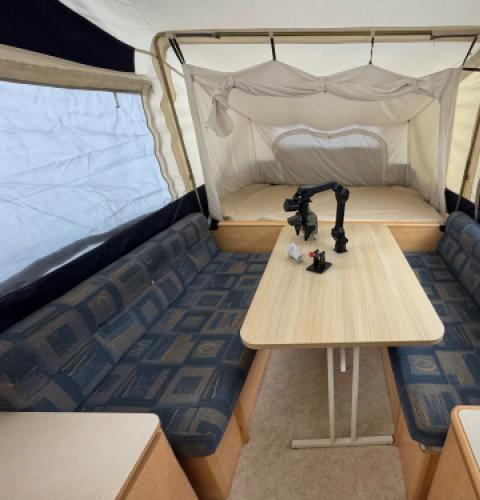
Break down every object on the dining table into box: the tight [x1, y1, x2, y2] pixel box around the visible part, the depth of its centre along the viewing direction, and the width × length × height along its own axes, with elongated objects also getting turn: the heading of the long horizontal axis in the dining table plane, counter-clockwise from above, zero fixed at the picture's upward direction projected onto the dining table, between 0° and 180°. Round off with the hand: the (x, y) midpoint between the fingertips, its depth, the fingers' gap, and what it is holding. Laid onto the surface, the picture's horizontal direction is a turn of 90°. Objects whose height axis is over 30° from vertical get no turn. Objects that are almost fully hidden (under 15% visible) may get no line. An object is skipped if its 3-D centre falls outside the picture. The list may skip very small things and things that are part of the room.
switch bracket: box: [306, 248, 333, 275], centre depth 145 cm, size 12×9×10 cm
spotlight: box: [285, 242, 305, 263], centre depth 155 cm, size 8×11×8 cm
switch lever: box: [308, 251, 322, 259], centre depth 141 cm, size 11×3×3 cm, turn 152°
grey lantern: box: [300, 204, 319, 241], centre depth 181 cm, size 14×9×25 cm, turn 22°
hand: (301, 238), depth 147 cm, fingers open, 9 cm apart
